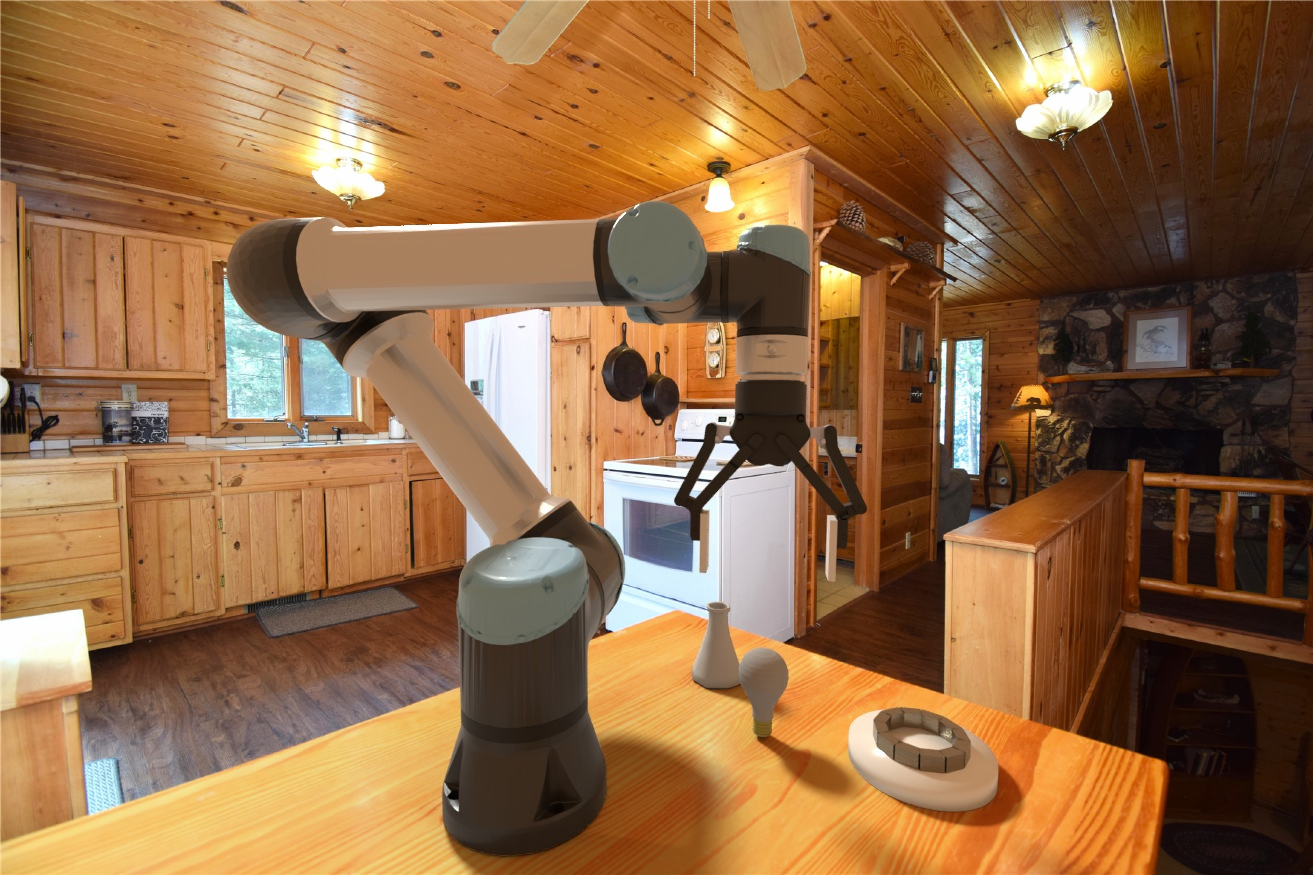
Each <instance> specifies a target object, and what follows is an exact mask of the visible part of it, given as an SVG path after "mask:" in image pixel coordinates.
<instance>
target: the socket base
mask: <svg viewBox="0 0 1313 875" xmlns="http://www.w3.org/2000/svg"><path fill="white" fill-rule="evenodd" d="M882 710H883V709H877V710H873V711H869V712H866V713H864V714H861V715H860V716H858V717H857V718H855V719H854V720H853V721H852V723H851V724H850V725H849V728H848V729H849V730H848V744H847V745H848V746H847V747H848V749H847V751H848V757H849V761H850V763H851V765H852V767H853V768H854V769H855V771H856V772H857V773H858V774H859V775H860V776H861V777H862V778H863V780H865V781H866V782H867V783H868V784H870V785H871V786H873V787H874V788H875V789H877V790H879V791H880V792H882V793H884V794H886V795H887V796H889V797H892V798H893V799H896V800H898V801H900V802H903V803H906V804H909V805H912V806H915V807H918V808H922V809H927V810H933V811H937V812H938V811H940V812H952V813H953V812H957V813H958V812H967V811H972V810H973V811H974V810H978V809H979V808H983V807H985V806H986V805H988V804H989V803H991V801H993V799H994V798H995V796H996V795H997V793H998V785H999V784H998V782H999V761H998V759H997V756H996V754H995V753H994V751H993V750H992V748H991V747H990V746H989V745H988V744H987V743H986V742H985V741H984V740H983V739H981V738H980V737H979V736H977V735H976V734H974V733H973V732H972V731H970V730H969V729H967V728H966V727H963V726H961V725H959V726H960V727H962V729H964V731H965V732H966V734H967V736H968V737H969V739H970V741H971V754H970V759H969V761H968V763H967V765H966V767H965V768H964V769H962V770H958V771H954V772H951V773H947V774H946V773H945V774H942V773H933V772H924V771H920V770H915V769H913V768H910V767H908V766H905V765H903V764H900V763H898V762H895V760H892V759H891V758H889V757H888V756H887V755H886V754H885V753H883V752H882V751H881V750H880V749H878V747H877V746H876V743H875V740H874V737H873V719H874V718H875V717H876V716H877V715H878V714H879V712H880V711H882ZM884 710H886V709H884ZM890 733H891V734H893V735H894V736H895V737H897V738H898V739H899V740H901V741H902V742H905V743H908V744H910V745H913V746H916V747H918V748H924V749H934V750H941V749H945V748H949V747H952V744H951V743H949V742H948V741H946V740H945V739H943V738H942V737H941V736H939V735H937V734H935V733H932V732H929V731H926V730H923V729H919V728H909V727H902V728H897V729H893V730H890Z"/></svg>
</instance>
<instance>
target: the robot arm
mask: <svg viewBox="0 0 1313 875" xmlns="http://www.w3.org/2000/svg"><path fill="white" fill-rule="evenodd" d="M694 223H695V222H693V220H692V219H691V217H689V215H688V214H687V213H686V212H685V211H683V210H682V209H681V208H679V207H677V206H676V205H674V204H672V203H670V202H665V201H661V200H651V201H650V200H649V201H644V202H640V203H638V204H636V205H634V206H632V207H630V208H629V209H627V210H626V211H625V212H624V213H622V214H621V215H620V216H619V217H609V218H607V217H606V218H592V219H567V220H565V219H564V220H537V221H510V222H507V221H506V222H485V223H484V222H482V223H479V222H478V223H477V222H476V223H457V224H456V223H453V224H432V225H431V224H429V225H428V224H427V225H404V226H403V225H401V226H372V227H370V226H369V227H366V226H365V227H347V225H345V224H344V223H342V222H341V221H339V220H338V219H336V218H332V217H327V216H325V217H324V216H321V217H319V216H318V217H297V218H279V219H272V220H267V221H264V222H259V223H257V224H256V225H254V226H252V227H250V228H248V229H247V230H245V231H244V232H243V233H242V234H240V235H239V236H238V238H237V239H236V240H235V242H234V243H233V245H232V247H231V248H230V252H229V253H228V257H227V260H226V261H227V262H226V271H225V272H226V279H227V280H226V281H227V284H228V287H229V290H230V293H231V294H232V297H233V298H234V301H235V302H236V304H237V305H238V307H240V309H241V310H242V311H243V312H244V314H245V315H247V316H248V317H249V318H250V319H251V320H253V321H254V322H255V323H256V324H258V325H260V326H261V327H263V328H265V330H268V331H270V332H273V333H276V334H279V335H282V336H285V337H289V338H296V339H303V340H308V341H316V342H321V343H322V344H323V345H324V346H325V347H326V348H327V349H328V351H329V352H330V354H332V356H333V357H334V358H335V359H336V362H337V363H338V364H339V365H340V367H341V368H342V369H343V371H344V372H345V373H346V374H347V375H349V376H350V377H353V378H355V377H356V378H359V379H367V380H368V381H369V382H370V383H371V385H372V386H373V387H374V389H375V390H376V392H377V393H378V394H379V395H380V397H381V399H383V402H385V403H386V405H387V406H388V407H389V409H390V410H391V411H392V412H393V414H394V415H395V417H396V418H397V420H399V422H400V423H401V424H402V426H403V427H404V428H405V430H406V432H407V433H409V435H410V436H411V438H412V439H413V441H415V443H416V444H417V446H418V447H419V448H420V450H421V451H422V452H423V453H424V455H425V457H427V458H426V459H428V460H429V461H430V463H431V464H432V465H433V467H434V468H435V469H436V471H437V472H438V474H439V475H440V476H441V477H442V478H443V480H444V481H445V483H446V484H447V485H448V487H449V488H450V490H452V493H454V495H455V497H457V498H458V500H459V502H461V504H462V505H463V507H464V508H465V509H466V511H467V512H468V513H469V514H470V516H471V517H472V518H473V519H474V522H476V524H477V525H478V527H479V528H480V530H482V531H483V533H484V534H485V536H486V537H487V538H488V540H489V547H486V548H485V549H483V550H480V551H479V552H478V553H475V555H474V556H472V557H471V558H470V559H469V560H468V561H467V562H466V563H465V565H464V567H463V568H462V570H461V572H460V576H459V581H458V596H457V598H456V606H455V608H456V619H457V626H458V664H459V693H460V694H459V697H460V700H459V701H460V727H459V732H458V733H457V737H456V740H455V744H454V747H453V751H452V754H451V757H450V759H449V763H448V767H447V770H446V773H445V776H444V779H443V782H442V790H441V799H442V801H441V806H442V809H441V810H442V819H443V824H444V826H445V828H446V831H447V832H448V834H450V836H451V837H452V838H455V839H454V840H455V841H457V843H459V844H461V845H462V846H464V847H466V848H469V849H470V850H472V851H476V852H477V853H478V852H479V853H483V854H487V855H493V856H494V855H495V856H521V855H523V856H524V855H528V854H533V853H534V854H535V853H537V852H542V851H545V850H548V849H550V848H554V847H556V846H559V845H561V844H563V843H565V842H567V841H569V840H570V839H572V838H574V837H576V836H578V835H579V834H580V833H581V832H583V830H585V829H586V828H587V827H588V826H589V825H591V823H592V822H593V821H594V820H595V819H596V818H597V817H598V815H599V814H600V812H601V810H602V809H603V806H604V804H605V801H606V797H607V790H608V788H607V787H608V786H607V784H608V783H607V782H608V778H607V774H608V773H607V763H606V759H605V755H604V752H603V749H602V746H601V744H600V741H599V738H598V736H597V733H596V732H597V731H596V730H595V727H594V724H593V721H592V718H591V716H590V713H589V699H588V698H589V694H588V693H589V690H588V688H589V687H588V686H589V685H588V684H589V675H588V674H589V671H588V670H589V668H588V666H589V665H588V664H589V663H588V662H589V660H588V658H589V657H588V655H589V654H588V652H589V645H590V642H591V640H592V639H593V637H594V636H595V634H596V633H597V632H598V630H599V628H600V627H601V625H602V624H603V622H604V620H605V619H606V618H607V616H608V615H609V614H610V613H611V612H612V611H613V609H614V607H615V606H616V605H617V603H618V601H619V599H620V597H621V593H622V591H623V587H624V583H625V579H626V560H625V556H624V553H623V550H622V548H621V546H620V544H619V542H618V540H617V539H616V538H615V536H613V534H612V533H611V532H610V531H609V530H608V529H606V528H605V527H603V526H602V525H599V524H598V523H595V522H592V521H589V520H587V519H586V518H585V517H584V514H582V513H581V511H580V510H579V509H578V508H577V507H576V505H575V504H574V502H573V501H572V499H570V497H569V498H568V497H563V496H562V497H561V496H555V495H552V494H550V492H549V491H548V490H547V489H546V487H545V485H544V484H543V483H542V482H541V480H540V479H539V478H538V477H537V475H536V474H535V473H534V471H533V470H532V469H531V467H530V466H529V465H528V464H527V462H526V461H525V459H524V458H523V457H522V456H521V455H520V453H519V452H518V451H517V449H516V448H515V447H514V445H513V444H512V442H510V440H509V438H508V437H507V436H506V435H505V433H504V432H503V431H502V430H501V428H500V427H499V425H498V424H497V422H496V421H495V420H494V419H493V418H492V417H491V415H490V414H489V412H488V411H487V410H486V409H485V407H484V406H483V405H482V403H481V402H480V401H479V399H478V397H476V395H475V394H474V393H473V391H472V390H471V389H470V387H469V386H468V385H467V384H466V382H465V381H464V380H463V378H462V377H461V375H460V374H459V373H458V372H457V370H456V369H455V367H453V365H452V364H451V362H450V361H449V359H448V358H447V357H446V356H445V355H444V353H443V352H442V350H440V348H439V347H438V345H437V344H436V343H435V342H434V341H433V340H434V339H433V335H434V331H435V321H434V319H433V318H432V316H431V315H430V314H429V313H428V312H427V311H429V310H430V311H431V310H435V311H436V310H440V311H441V310H470V309H471V310H475V309H476V310H477V309H480V310H482V309H485V310H486V309H521V308H524V309H525V308H526V309H527V308H530V309H531V308H569V307H570V308H572V307H574V308H575V307H576V308H577V307H615V308H616V307H617V308H620V307H624V309H625V310H626V315H627V317H628V319H629V320H630V321H631V322H633V323H636V324H652V325H657V326H663V325H664V324H665V325H667V324H668V325H669V324H671V325H672V324H676V325H677V324H705V323H706V324H709V323H711V324H712V323H713V324H714V323H717V324H718V323H721V324H729V323H735V324H736V345H735V374H736V375H737V376H741V377H740V379H739V380H738V381H736V382H737V383H735V385H734V386H735V389H734V392H735V393H734V394H735V395H734V421H733V422H732V424H731V425H725V424H718V423H716V422H714V421H711V422H710V423H709V422H708V423H707V424H706V425H705V428H704V436H703V441H702V442H703V443H702V445H701V447H700V449H699V451H698V452H697V454H696V456H695V458H694V460H693V462H692V464H691V466H690V468H689V469H688V471H687V473H686V475H685V478H684V480H683V481H682V483H681V485H680V487H679V489H678V491H677V492H676V495H675V497H674V498H673V503H674V505H676V506H677V507H681V508H684V509H686V510H688V511H689V513H690V514H689V516H690V519H689V520H690V521H689V522H690V523H689V525H690V526H689V527H690V530H689V537H690V540H691V541H694V542H695V541H696V542H699V570H698V572H699V574H707V572H708V569H709V566H710V565H709V562H710V561H709V558H710V557H709V556H710V552H709V551H710V548H709V547H710V509H703V508H704V507H705V506H706V505H707V504H708V503H709V502H710V500H711V499H713V497H714V496H715V495H716V494H717V493H718V492H719V490H720V489H721V488H722V487H724V485H725V484H726V483H727V482H728V480H729V479H730V478H731V477H732V476H733V475H734V474H735V473H736V472H737V471H738V470H739V468H741V466H743V465H744V464H745V462H746V461H747V462H748V463H749V464H752V465H753V466H755V467H756V466H757V467H762V466H767V465H771V466H774V467H782V468H783V467H784V466H787V465H789V464H790V463H792V464H794V466H795V467H796V469H797V470H798V471H799V472H800V473H801V474H802V475H803V477H804V478H805V479H806V480H807V481H808V482H809V484H810V485H811V487H812V488H814V490H815V491H816V492H817V494H818V495H819V496H820V497H821V499H822V500H823V501H824V503H825V504H826V505H827V506H828V507H829V508H830V509H831V511H832V512H833V513H834V514H831V515H829V514H828V515H826V540H825V541H826V543H825V546H826V547H825V573H824V574H825V576H826V579H827V582H833V583H835V582H836V579H837V578H836V576H837V575H836V574H837V573H836V572H837V571H836V570H837V552H838V551H837V549H838V550H846V548H847V546H848V534H849V532H848V531H849V520H850V519H851V518H852V517H856V516H857V515H865V514H866V513H867V511H868V506H867V504H866V502H865V499H864V497H863V496H862V493H861V492H860V490H859V487H858V486H857V483H856V481H855V479H854V477H853V475H852V473H851V471H850V469H849V467H848V464H847V462H846V460H845V458H844V456H843V455H842V454H843V453H842V452H841V450H840V448H839V442H838V433H837V432H838V431H837V428H836V426H834V425H833V424H825V425H824V426H815V427H809V426H808V423H807V396H808V395H807V392H808V391H807V390H808V384H807V383H806V381H803V380H802V377H805V376H806V375H807V374H808V361H809V360H808V356H809V353H808V352H809V351H808V350H809V321H810V299H811V298H810V297H811V296H810V295H811V294H810V293H811V276H812V272H811V271H812V270H811V257H810V256H811V254H810V251H811V249H810V248H811V246H810V238H809V236H808V235H807V233H806V232H805V231H804V230H802V229H801V228H798V227H796V226H792V225H787V224H765V225H763V226H754V227H751V228H747V229H745V230H744V231H743V232H741V233H740V235H739V237H738V241H737V242H738V244H737V245H736V249H730V250H722V251H707V249H706V245H705V239H704V238H703V236H702V234H701V231H700V230H699V229H698V227H697V226H696V225H695V224H694ZM727 436H730V438H731V440H732V441H733V443H734V445H735V446H736V447H737V448H738V450H737V451H736V452H735V454H734V455H733V456H731V458H730V459H729V461H727V463H725V465H724V466H723V467H722V468H721V469H720V471H719V472H717V474H716V475H715V476H714V477H713V478H712V479H711V481H709V482H708V483H707V485H706V486H705V487H704V488H703V489H702V490H701V491H700V492H699V494H698V495H697V496H696V497H694V496H692V495H691V493H692V492H693V489H694V487H695V485H696V483H697V481H698V480H699V478H700V476H701V474H702V472H703V471H704V468H705V466H706V464H707V463H708V460H709V459H710V457H711V455H712V453H713V451H714V449H715V447H716V445H719V444H722V443H723V441H724V439H725V437H727ZM810 438H813V439H815V441H816V444H817V446H819V447H823V448H824V451H825V453H826V455H827V458H828V459H829V461H830V463H831V466H832V467H833V469H834V471H835V473H836V476H837V478H838V480H839V482H840V485H841V486H842V488H843V490H844V493H845V495H846V496H847V498H848V501H849V502H846V503H843V502H842V501H841V500H840V499H839V498H838V496H837V495H836V494H835V493H834V492H833V490H831V488H830V487H829V485H828V484H827V483H826V482H825V480H824V479H822V477H821V475H819V473H818V472H817V471H816V470H815V469H814V467H813V466H812V465H811V464H810V463H809V461H808V460H807V459H806V457H804V455H803V454H802V453H801V452H800V451H801V450H802V449H803V448H804V446H805V445H806V444H807V443H808V442H809V440H810Z"/></svg>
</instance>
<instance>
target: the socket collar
mask: <svg viewBox="0 0 1313 875" xmlns="http://www.w3.org/2000/svg"><path fill="white" fill-rule="evenodd" d="M881 710H882V711H880V712H879V714H878V715H877V716H876V717H875V718H874V719H873V737H874V740H875V743H876V746H877V747H878V749H880V750H881V751H882V752H883V753H885V754H886V755H887V756H888V757H889V758H891V759H892V760H895V762H898V763H900V764H903V765H905V766H908V767H910V768H913V769H915V770H920V771H924V772H933V773H942V774H945V773H946V774H947V773H951V772H954V771H958V770H962V769H964V768H965V767H966V765H967V763H968V761H969V759H970V754H971V741H970V739H969V737H968V736H967V734H966V732H965V731H964V729H962V727H963V726H961V725H959V724H957V723H955V722H954V721H953V720H951V719H950V718H948V717H947V716H946V717H945V716H944V715H941V714H938V713H935V712H932V711H929V710H925V709H921V708H916V707H915V708H914V707H906V706H905V707H903V706H896V707H891V708H887V709H886V710H885V709H881ZM960 726H961V727H960ZM902 727H909V728H919V729H923V730H926V731H929V732H932V733H935V734H937V735H939V736H941V737H942V738H943V739H945V740H946V741H948V742H949V743H951V744H952V747H949V748H945V749H941V750H934V749H924V748H918V747H916V746H913V745H910V744H908V743H905V742H902V741H901V740H899V739H898V738H897V737H895V736H894V735H893V734H891V733H890V730H893V729H897V728H902Z"/></svg>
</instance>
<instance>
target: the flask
mask: <svg viewBox="0 0 1313 875" xmlns="http://www.w3.org/2000/svg"><path fill="white" fill-rule="evenodd" d="M706 609H707V612H708V619H707V625H706V630H705V634H704V635H703V639H702V641H701V644H700V647H699V650H698V653H697V655H696V657H695V660H694V662H693V665H692V668H691V674H692V675H691V676H692V680H693V681H694V682H696V683H698V684H700V685H701V686H703V687H704V688H706V689H730V688H731V689H732V688H733V687H736V686H739V685H741V683H740V679H739V665H740V661H739V658H738V656H737V653H736V649H735V646H734V642H733V640H732V636H731V632H730V626H729V613H730V612H731V606H730V604H729V603H727V602H724V601H711V602H707V603H706Z"/></svg>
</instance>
